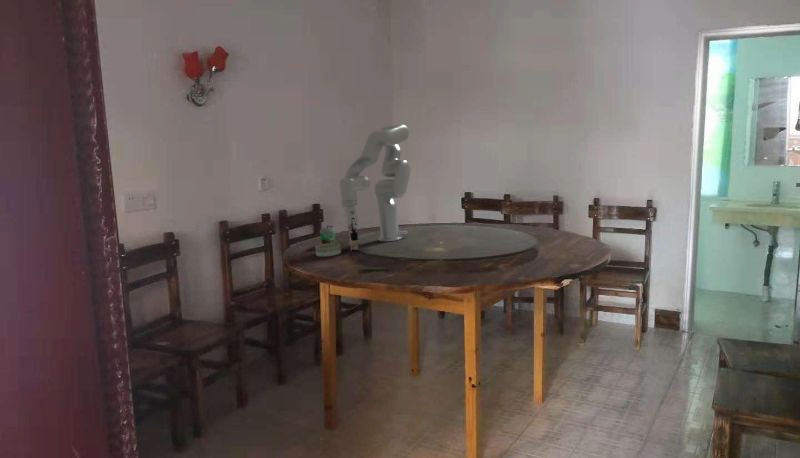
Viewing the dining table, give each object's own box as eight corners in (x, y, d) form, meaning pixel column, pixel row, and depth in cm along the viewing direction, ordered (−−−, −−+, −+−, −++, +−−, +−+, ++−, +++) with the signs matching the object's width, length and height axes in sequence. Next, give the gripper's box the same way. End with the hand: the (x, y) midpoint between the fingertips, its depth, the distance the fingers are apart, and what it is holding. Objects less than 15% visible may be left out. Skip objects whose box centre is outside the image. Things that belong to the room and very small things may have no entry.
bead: (338, 249, 316) (337, 242, 315) (342, 254, 304) (341, 246, 303) (315, 253, 313) (314, 245, 312) (317, 257, 301) (317, 249, 301)
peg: (357, 248, 314) (354, 221, 311) (359, 250, 310) (356, 222, 308) (349, 249, 313) (346, 222, 311) (351, 251, 309) (348, 223, 307)
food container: (333, 248, 322) (330, 228, 320) (321, 248, 323) (319, 229, 322) (340, 243, 334) (337, 224, 332) (329, 243, 335) (326, 225, 333)
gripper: (360, 204, 300) (364, 241, 303) (354, 200, 317) (357, 235, 320) (344, 206, 298) (348, 243, 301) (339, 202, 315) (343, 237, 318)
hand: (353, 239), depth 310 cm, fingers open, 5 cm apart
